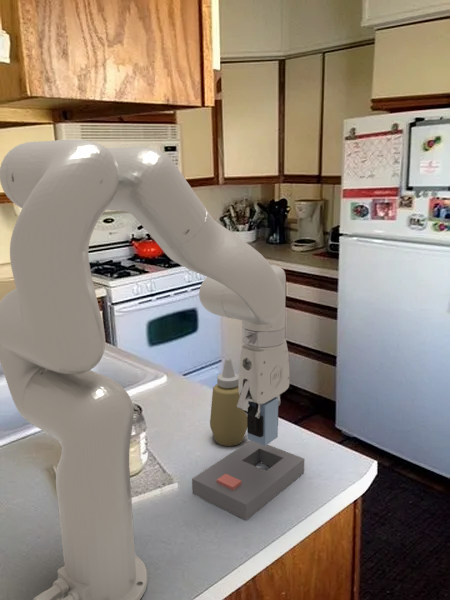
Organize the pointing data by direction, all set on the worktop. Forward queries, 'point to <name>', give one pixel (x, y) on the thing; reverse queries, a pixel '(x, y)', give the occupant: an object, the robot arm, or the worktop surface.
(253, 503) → the power strip
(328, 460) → the worktop surface
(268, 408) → the plug
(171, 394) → the worktop surface
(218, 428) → the squeeze bottle
